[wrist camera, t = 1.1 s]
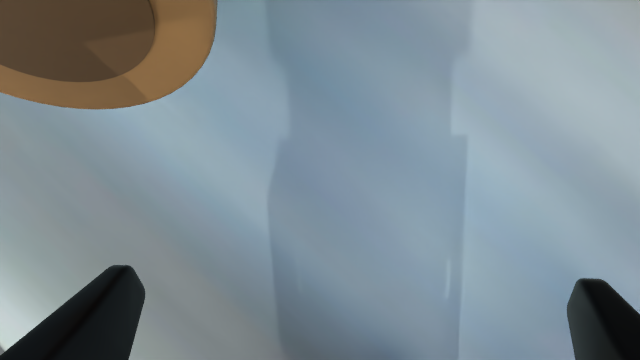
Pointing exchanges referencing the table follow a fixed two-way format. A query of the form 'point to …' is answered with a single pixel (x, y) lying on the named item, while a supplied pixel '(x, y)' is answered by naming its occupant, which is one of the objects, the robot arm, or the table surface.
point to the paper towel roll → (102, 49)
